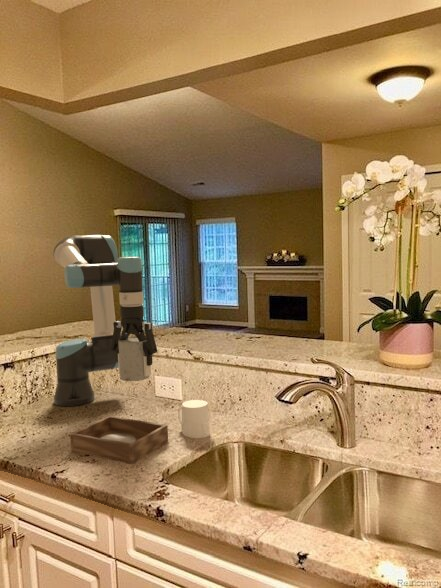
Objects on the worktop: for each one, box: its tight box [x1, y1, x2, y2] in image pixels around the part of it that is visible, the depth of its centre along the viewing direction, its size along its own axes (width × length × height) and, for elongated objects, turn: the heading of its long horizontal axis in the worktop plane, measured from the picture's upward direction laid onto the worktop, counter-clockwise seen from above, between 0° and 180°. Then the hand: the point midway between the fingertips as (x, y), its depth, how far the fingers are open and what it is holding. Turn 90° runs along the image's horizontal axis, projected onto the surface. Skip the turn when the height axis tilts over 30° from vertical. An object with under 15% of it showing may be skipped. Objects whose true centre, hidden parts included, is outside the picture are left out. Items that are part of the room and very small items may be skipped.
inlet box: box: [69, 415, 169, 465], centre depth 144 cm, size 17×22×5 cm
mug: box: [177, 399, 211, 439], centre depth 153 cm, size 12×9×8 cm
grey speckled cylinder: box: [118, 336, 151, 382], centre depth 160 cm, size 10×10×12 cm
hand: (134, 373), depth 160 cm, fingers closed on grey speckled cylinder, 9 cm apart
